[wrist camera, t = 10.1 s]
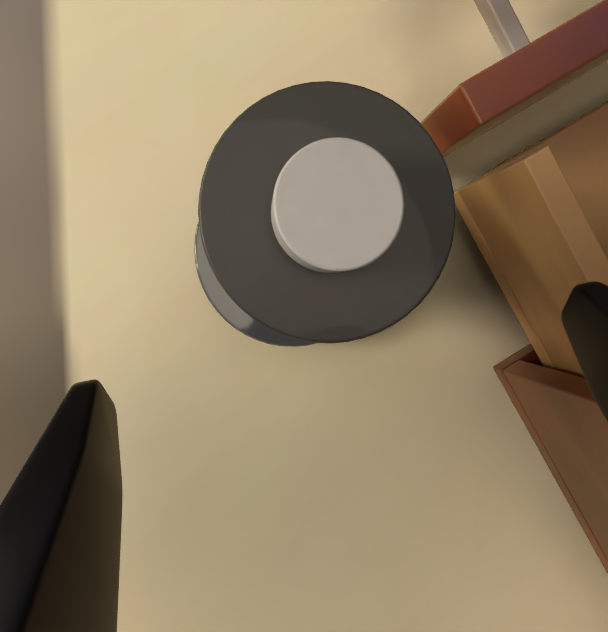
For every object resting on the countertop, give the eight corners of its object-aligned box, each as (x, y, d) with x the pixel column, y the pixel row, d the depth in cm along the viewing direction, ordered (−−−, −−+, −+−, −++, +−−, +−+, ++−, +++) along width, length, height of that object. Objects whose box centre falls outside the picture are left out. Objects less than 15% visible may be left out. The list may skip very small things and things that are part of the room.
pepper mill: (270, 338, 18) (288, 405, 8) (202, 226, 17) (131, 146, 7) (379, 273, 18) (531, 257, 8) (315, 160, 18) (392, -2, 8)
